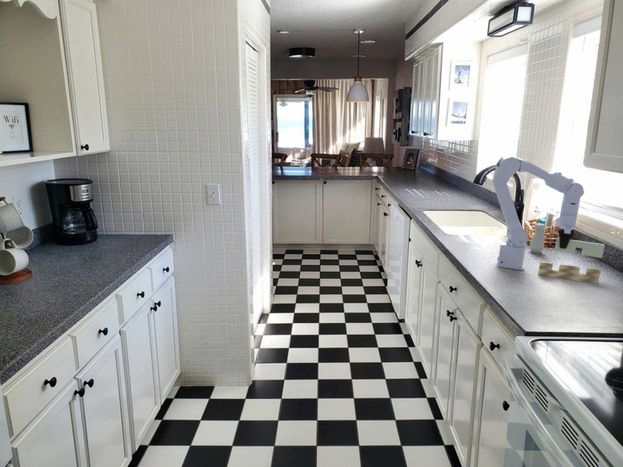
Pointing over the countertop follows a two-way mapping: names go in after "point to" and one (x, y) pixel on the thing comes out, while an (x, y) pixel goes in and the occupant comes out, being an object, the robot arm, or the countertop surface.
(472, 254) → the countertop surface
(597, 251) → the green plate
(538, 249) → the salt shaker
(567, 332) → the countertop surface
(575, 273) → the maple slat
